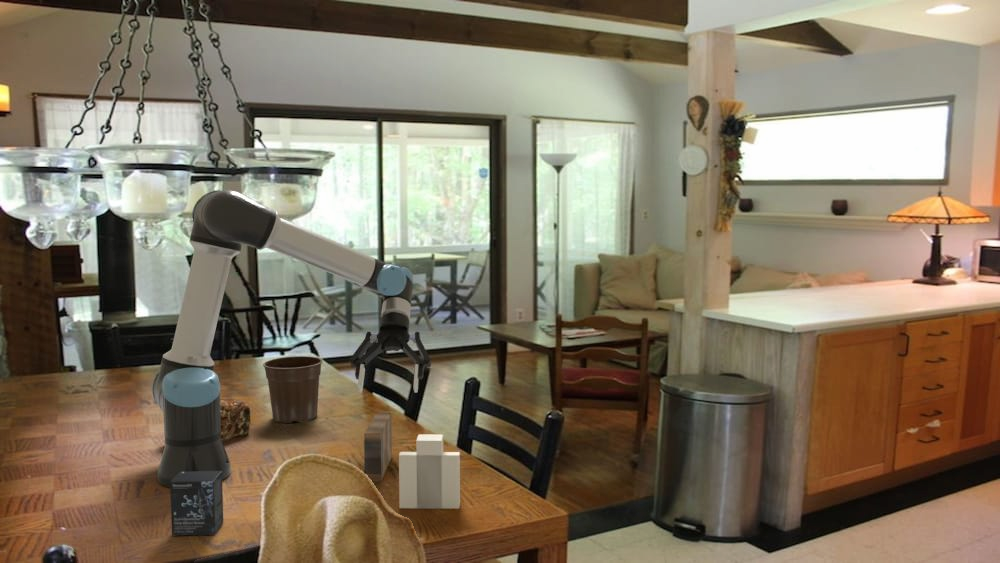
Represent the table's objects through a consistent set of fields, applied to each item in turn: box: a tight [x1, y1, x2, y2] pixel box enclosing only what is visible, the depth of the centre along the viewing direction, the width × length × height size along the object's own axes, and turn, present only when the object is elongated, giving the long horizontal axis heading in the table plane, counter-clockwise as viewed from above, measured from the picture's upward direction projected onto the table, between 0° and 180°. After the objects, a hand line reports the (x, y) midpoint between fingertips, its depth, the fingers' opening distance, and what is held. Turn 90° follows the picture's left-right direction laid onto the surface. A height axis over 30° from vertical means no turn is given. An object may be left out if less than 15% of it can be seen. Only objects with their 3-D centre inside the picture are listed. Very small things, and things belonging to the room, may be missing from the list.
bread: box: [220, 397, 251, 442], centre depth 199 cm, size 19×11×10 cm, turn 142°
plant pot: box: [262, 355, 324, 424], centre depth 217 cm, size 16×16×16 cm
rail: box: [363, 412, 393, 483], centre depth 177 cm, size 16×4×11 cm, turn 179°
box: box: [169, 471, 224, 537], centre depth 144 cm, size 8×6×11 cm
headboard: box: [398, 433, 461, 510], centre depth 158 cm, size 8×12×14 cm, turn 89°
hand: (387, 389), depth 188 cm, fingers open, 13 cm apart
